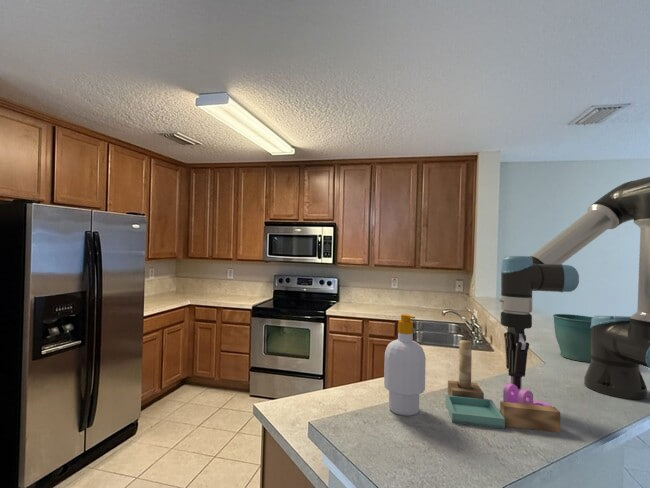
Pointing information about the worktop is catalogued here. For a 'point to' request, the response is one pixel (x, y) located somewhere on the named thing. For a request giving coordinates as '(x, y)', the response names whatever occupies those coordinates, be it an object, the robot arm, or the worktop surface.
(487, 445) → the worktop surface
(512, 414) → the block
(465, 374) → the dowel
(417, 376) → the soap bottle
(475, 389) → the socket block
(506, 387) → the bracket
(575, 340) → the flower pot
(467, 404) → the tray
